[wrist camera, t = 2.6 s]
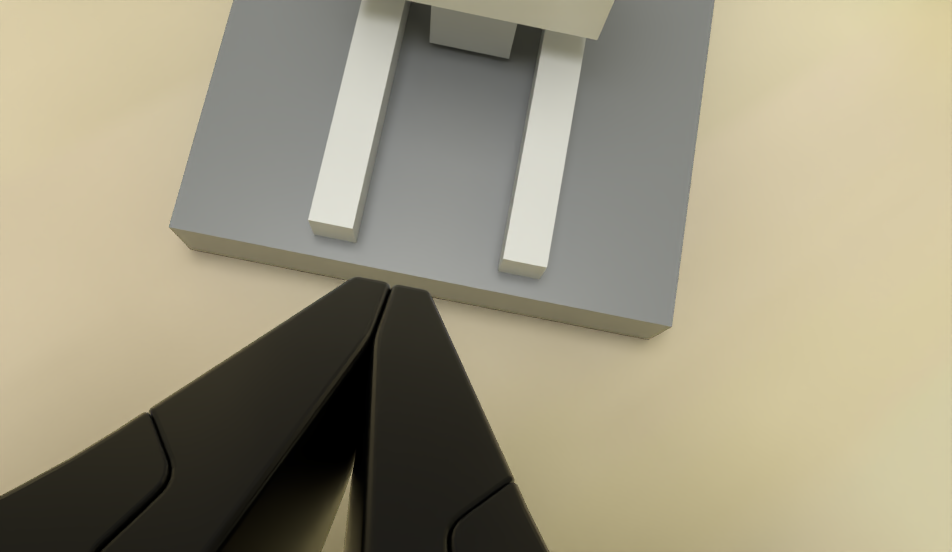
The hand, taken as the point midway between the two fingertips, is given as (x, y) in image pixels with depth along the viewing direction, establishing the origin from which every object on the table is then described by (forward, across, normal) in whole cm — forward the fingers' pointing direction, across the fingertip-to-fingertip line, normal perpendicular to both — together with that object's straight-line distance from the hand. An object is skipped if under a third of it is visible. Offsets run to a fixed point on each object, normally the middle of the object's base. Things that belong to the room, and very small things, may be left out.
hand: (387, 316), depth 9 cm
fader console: (+16, 0, +1) cm, 16 cm away
